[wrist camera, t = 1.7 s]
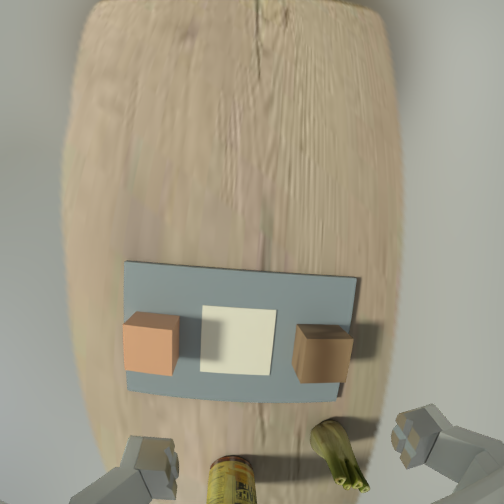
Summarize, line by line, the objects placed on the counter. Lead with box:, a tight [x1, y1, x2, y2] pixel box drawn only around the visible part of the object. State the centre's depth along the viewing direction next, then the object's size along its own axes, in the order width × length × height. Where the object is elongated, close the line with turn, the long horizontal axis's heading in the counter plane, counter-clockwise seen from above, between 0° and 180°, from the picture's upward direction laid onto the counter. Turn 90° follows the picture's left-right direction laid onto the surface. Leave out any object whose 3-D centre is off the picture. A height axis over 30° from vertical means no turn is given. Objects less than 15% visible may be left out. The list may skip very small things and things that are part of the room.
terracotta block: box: [123, 311, 180, 376], centre depth 32 cm, size 5×5×5 cm
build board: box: [124, 261, 357, 403], centre depth 35 cm, size 26×16×1 cm, turn 85°
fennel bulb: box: [310, 420, 370, 493], centre depth 32 cm, size 6×5×12 cm
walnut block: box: [292, 324, 354, 384], centre depth 33 cm, size 5×5×5 cm
